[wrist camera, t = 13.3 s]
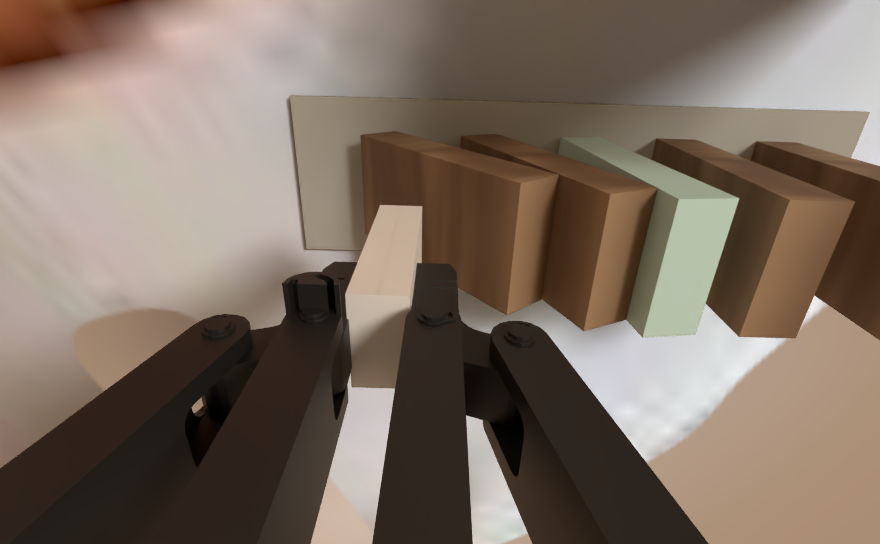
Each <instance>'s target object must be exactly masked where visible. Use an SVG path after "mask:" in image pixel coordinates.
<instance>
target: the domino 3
mask: <svg viewBox="0 0 880 544" xmlns="http://www.w3.org/2000/svg"><path fill="white" fill-rule="evenodd" d="M651 160H653V161H655V162H657V163H660V164H662V165H664V166H666V167H669V168H671V169H673V170H676V171H678V172H680V173H682V174H685V175H687V176H689V177H692V178H694V179H696V180H698V181H701V182H703V183H705V184H708V185H710V186H712V187H715V188H717V189H719V190H721V191H724V192H726V193H728V194H731V195H733V196H735V197H737V198H739V201H738V204H737V207H736V210H735V214H734V217H733V220H732V223H731V226H730V229H729V232H728V235H727V238H726V241H725V245H724V248H723V251H722V254H721V257H720V260H719V263H718V266H717V269H716V272H715V276H714V279H713V282H712V285H711V288H710V291H709V294H708V297H707V300H706V304H707V305H708V306H709V307H710V308H711V309H712V310H713V311H714V312H715V313H716V314H717V315H718V316H719V317H720V318H721V319H722V320H723V321H724V322H725V323H726V324H727V325H728V326H729V327H730V328H731V329H732V330H733V331H734V332H735V333H736V334H737V335H738V336H739V337H766V338H796V336H797V334H798V331H799V329H800V327H801V325H802V322H803V320H804V318H805V315H806V313H807V311H808V309H809V306H810V304H811V302H812V299H813V297H814V295H815V292H816V290H817V288H818V286H819V283H820V281H821V279H822V276H823V274H824V272H825V270H826V267H827V265H828V263H829V260H830V258H831V256H832V254H833V251H834V249H835V247H836V244H837V242H838V240H839V238H840V235H841V233H842V231H843V228H844V226H845V224H846V222H847V219H848V217H849V215H850V212H851V210H852V208H853V206H854V203H855V202H854V201H852V200H849V199H847V198H844V197H842V196H839V195H836V194H834V193H831V192H829V191H826V190H824V189H821V188H819V187H816V186H814V185H811V184H808V183H806V182H803V181H801V180H798V179H796V178H793V177H791V176H788V175H785V174H783V173H780V172H778V171H775V170H773V169H770V168H768V167H765V166H763V165H760V164H757V163H755V162H752V161H750V160H747V159H745V158H742V157H740V156H737V155H734V154H732V153H729V152H727V151H724V150H722V149H719V148H717V147H714V146H712V145H709V144H706V143H704V142H701V141H699V140H694V139H659V138H656V142H655V146H654V151H653V155H652V159H651Z"/></svg>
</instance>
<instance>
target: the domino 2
mask: <svg viewBox="0 0 880 544" xmlns="http://www.w3.org/2000/svg"><path fill="white" fill-rule="evenodd" d="M460 148H461V149H465V150H469V151H472V152H476V153H480V154H484V155H487V156H491V157H495V158H499V159H502V160H506V161H510V162H514V163H517V164H521V165H525V166H529V167H532V168H536V169H540V170H544V171H547V172H551V173H555V174H559V180H558V187H557V194H556V201H555V208H554V215H553V222H552V229H551V236H550V243H549V250H548V257H547V264H546V271H545V278H544V285H543V292H542V299H543V300H544V301H545V302H547V303H548V304H549V305H550V306H552V307H553V308H554V309H556V310H557V311H558V312H560V313H561V314H562V315H563V316H565V317H566V318H567V319H569V320H570V321H571V322H573V323H574V324H575V325H576V326H578V327H579V328H580V329H582V330H583V331H586V330H590V329H593V328H597V327H601V326H604V325H608V324H612V323H615V322H619V321H623V320H626V318H627V314H628V310H629V306H630V302H631V297H632V293H633V289H634V285H635V281H636V277H637V272H638V268H639V264H640V260H641V256H642V252H643V247H644V243H645V239H646V235H647V231H648V227H649V222H650V218H651V214H652V210H653V206H654V202H655V197H656V193H657V189H658V188H657V187H654V186H651V185H648V184H645V183H642V182H639V181H636V180H633V179H630V178H627V177H624V176H621V175H618V174H615V173H612V172H609V171H606V170H603V169H600V168H597V167H594V166H591V165H588V164H585V163H582V162H579V161H576V160H573V159H570V158H567V157H564V156H561V155H558V154H555V153H552V152H549V151H546V150H543V149H540V148H537V147H534V146H531V145H528V144H525V143H522V142H519V141H516V140H513V139H510V138H507V137H504V136H501V135H498V134H486V135H469V136H461V144H460Z"/></svg>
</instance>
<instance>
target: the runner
mask: <svg viewBox="0 0 880 544" xmlns="http://www.w3.org/2000/svg"><path fill="white" fill-rule="evenodd" d="M290 102H291V112H292V121H293V130H294V139H295V148H296V157H297V166H298V175H299V185H300V194H301V203H302V212H303V221H304V230H305V239H306V249H333V250H363V248H364V245H365V243H366V240H367V238H368V235H366V234H365V221H364V199H363V178H362V157H361V136H360V135H364V134H373V133H382V132H391V131H397V132H401V133H405V134H409V135H412V136H416V137H420V138H424V139H427V140H431V141H435V142H439V143H442V144H446V145H450V146H454V147H457V148H460V144H461V136H469V135H486V134H498V135H501V136H504V137H507V138H510V139H513V140H516V141H519V142H522V143H525V144H528V145H531V146H534V147H537V148H540V149H543V150H546V151H549V152H552V153H555V154H558V153H559V145H560V138H561V137H600V138H602V139H605V140H607V141H609V142H611V143H614V144H616V145H618V146H621V147H623V148H625V149H627V150H630V151H632V152H634V153H637V154H639V155H641V156H644V157H646V158H648V159H650V160H651V159H652V155H653V151H654V146H655V142H656V138H659V139H694V140H699V141H701V142H704V143H706V144H709V145H712V146H714V147H717V148H719V149H722V150H724V151H727V152H729V153H732V154H734V155H737V156H740V157H742V158H745V159H747V160H751V157H752V154H753V151H754V148H755V144H756V141H765V142H797V143H800V144H804V145H807V146H811V147H814V148H818V149H821V150H825V151H828V152H832V153H835V154H839V155H842V156H845V157H849V158H851V156H852V154H853V152H854V149H855V147H856V144H857V142H858V139H859V137H860V135H861V132H862V130H863V127H864V125H865V123H866V120H867V118H868V115H869V112H858V111H823V110H789V109H754V108H719V107H684V106H649V105H614V104H579V103H544V102H509V101H474V100H440V99H405V98H370V97H335V96H300V95H291V96H290Z"/></svg>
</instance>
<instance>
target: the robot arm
mask: <svg viewBox="0 0 880 544" xmlns="http://www.w3.org/2000/svg"><path fill="white" fill-rule="evenodd" d="M282 286H283V294H284V301H285V308H286V316H285V317H284V319H283V321H282V323H281V324H280V325H278V326H274V327H269V328H263V329H256V330H251V328H250V323H249V321H248V320H247V319H246V318H245V317H242V316H239V315H228V314H222V315H216V316H212V317H210V318H207V319H204V320H202V321H200V322H198V323H196V324H195V325H193V326H192V327H190V328H189V329H188V330H186V331H185V332H184V333H182V334H181V335H180V336H178V337H177V338H175V339H174V340H173V341H172V342H170V343H169V344H168V345H166V346H165V347H163V348H162V349H161V350H159V351H158V352H157V353H155V354H154V355H153V356H151V357H150V358H149V359H147V360H146V361H145V362H143V363H142V364H140V365H139V366H138V367H137V368H135V369H134V370H132V371H131V372H130V373H128V374H127V375H126V376H124V377H123V378H122V379H120V380H119V381H118V382H116V383H115V384H114V385H112V386H111V387H110V388H108V389H107V390H105V391H104V392H103V393H101V394H100V395H99V396H97V397H96V398H95V399H93V400H92V401H91V402H89V403H88V404H87V405H85V406H84V407H83V408H81V409H80V410H79V411H77V412H76V413H75V414H73V415H72V416H70V417H69V418H68V419H66V420H65V421H64V422H62V423H61V424H60V425H58V426H57V427H56V428H54V429H53V430H52V431H50V432H49V433H48V434H46V435H45V436H44V437H42V438H41V439H40V440H38V441H37V442H35V443H34V444H33V445H31V446H30V447H29V448H27V449H26V450H25V451H23V452H22V453H21V454H19V455H18V456H17V457H15V458H14V459H13V460H11V461H10V462H9V463H7V464H6V465H4V466H3V467H2V468H0V544H310V543H311V539H312V535H313V532H314V528H315V524H316V520H317V517H318V513H319V509H320V505H321V502H322V498H323V494H324V490H325V487H326V483H327V479H328V475H329V471H330V468H331V464H332V460H333V456H334V453H335V449H336V445H337V441H338V437H339V434H340V430H341V426H342V422H343V419H344V415H345V411H346V407H347V404H348V388H347V383H348V380H349V376H350V373H351V384H352V387H365V388H395V393H394V400H393V407H392V414H391V420H390V427H389V434H388V441H387V447H386V454H385V461H384V468H383V474H382V481H381V488H380V495H379V502H378V508H377V515H376V522H375V529H374V535H373V543H372V544H473V543H472V524H471V505H470V485H469V466H468V446H467V427H466V415H467V416H471V417H474V418H478V419H481V420H483V426H484V430H485V432H486V435H487V437H488V439H489V442H490V444H491V446H492V449H493V451H494V454H495V456H496V458H497V461H498V463H499V465H500V468H501V470H502V473H503V475H504V477H505V480H506V482H507V484H508V487H509V489H510V492H511V494H512V496H513V499H514V501H515V503H516V506H517V508H518V511H519V513H520V515H521V518H522V520H523V522H524V525H525V527H526V530H527V532H528V534H529V537H530V539H531V541H532V543H533V544H708V542H707V541H706V540H705V538H704V537H703V536H702V535H701V533H700V532H699V531H698V529H697V528H696V527H695V526H694V524H693V523H692V522H691V520H690V519H689V518H688V516H687V515H686V514H685V512H684V511H683V510H682V509H681V507H680V506H679V505H678V504H677V502H676V501H675V499H674V498H673V497H672V496H671V494H670V493H669V492H668V490H667V489H666V488H665V486H664V485H663V484H662V483H661V481H660V480H659V479H658V477H657V476H656V475H655V474H654V472H653V471H652V470H651V468H650V467H649V466H648V464H647V463H646V462H645V460H644V459H643V458H642V457H641V455H640V454H639V453H638V451H637V450H636V449H635V447H634V446H633V445H632V443H631V442H630V441H629V440H628V438H627V437H626V436H625V434H624V433H623V432H622V430H621V429H620V428H619V427H618V425H617V424H616V423H615V421H614V420H613V419H612V417H611V416H610V415H609V414H608V412H607V411H606V410H605V408H604V407H603V406H602V404H601V403H600V402H599V401H598V399H597V398H596V397H595V395H594V394H593V393H592V391H591V390H590V389H589V388H588V386H587V385H586V384H585V382H584V381H583V380H582V378H581V377H580V376H579V375H578V373H577V372H576V371H575V369H574V368H573V367H572V365H571V364H570V363H569V362H568V360H567V359H566V358H565V356H564V355H563V354H562V352H561V351H560V350H559V349H558V347H557V346H556V345H555V343H554V342H553V341H552V339H551V338H550V337H549V336H548V334H547V333H546V332H545V331H543V330H542V329H541V328H540V327H538V326H535V325H533V324H531V323H527V322H523V321H508V322H504V323H500V324H498V325H497V326H495V327H494V328H493V330H492V332H491V334H489V333H484V332H481V331H477V330H474V329H472V328H470V327H468V326H467V325H466V324H464V323H463V322H462V321H461V318H460V315H459V310H458V290H457V271H456V270H455V269H454V268H453V267H452V266H451V265H450V264H436V263H422V206H398V205H380V207H379V210H378V212H377V215H376V217H375V220H374V222H373V225H372V227H371V230H370V232H369V235H368V238H367V240H366V243H365V245H364V248H363V250H362V253H361V255H360V258H359V260H358V262H333V263H332V264H330V265H329V266H327V267H326V268H324V269H323V271H322V272H306V273H302V274H297V275H295V276H292V277H290V278H288V279H287V280H286V281H284V282H283V283H282ZM200 398H202V401H203V405H204V406H203V407H202V408H201V409H200V410H199V411H197V412H196V413H193V412H192V408H191V407H192V406H193V405H194V404H195V403H196V402H197V401H198V400H199V399H200Z"/></svg>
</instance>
